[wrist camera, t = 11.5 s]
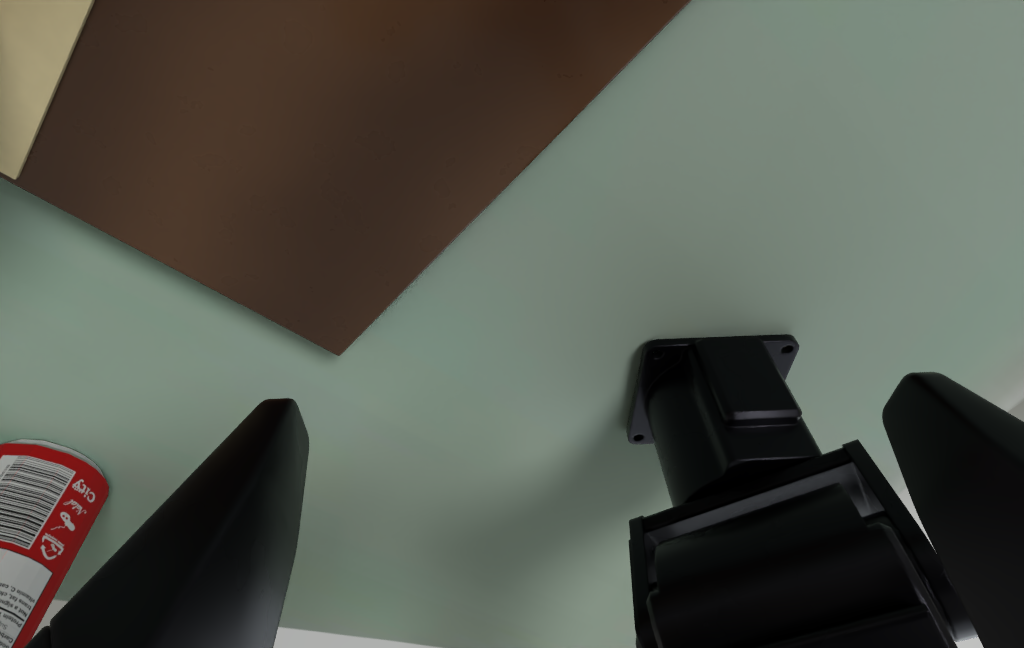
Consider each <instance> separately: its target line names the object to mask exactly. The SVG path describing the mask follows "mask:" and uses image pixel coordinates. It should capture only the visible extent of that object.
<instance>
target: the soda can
mask: <svg viewBox="0 0 1024 648" xmlns="http://www.w3.org/2000/svg"><path fill="white" fill-rule="evenodd" d="M108 492H109V486H108V484H107V481H106V479H105V478H104V476H103V474H102V471H101V469H100V468H99V467H98V466H97V465H96V464H95V463H94V462H93V461H91V460H90V459H89V458H87V457H86V456H84V455H83V454H81V453H79V452H77V451H75V450H73V449H70V448H67V447H64V446H60V445H57V444H54V443H51V442H48V441H41V440H28V439H19V440H15V441H11V442H7V443H3V444H0V648H24V647H25V646H26V645H27V644H28V643H29V642H30V641H31V639H32V637H33V635H34V633H35V631H36V630H37V628H38V626H39V624H40V622H41V620H42V618H43V617H44V615H45V613H46V611H47V609H48V607H49V605H50V603H51V602H52V600H53V598H54V596H55V594H56V592H57V590H58V588H59V587H60V585H61V583H62V581H63V579H64V577H65V575H66V574H67V572H68V570H69V568H70V566H71V564H72V562H73V560H74V559H75V557H76V555H77V553H78V551H79V549H80V547H81V546H82V544H83V542H84V540H85V538H86V536H87V534H88V532H89V531H90V529H91V527H92V525H93V523H94V521H95V519H96V517H97V516H98V514H99V512H100V510H101V508H102V506H103V504H104V503H105V501H106V499H107V497H108Z"/></svg>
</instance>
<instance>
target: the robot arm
mask: <svg viewBox="0 0 1024 648" xmlns="http://www.w3.org/2000/svg"><path fill="white" fill-rule="evenodd" d="M657 350H659V351H658V352H654V351H657ZM798 350H799V344H798V343H797V341H796V339H795V338H794V336H792V335H787V334H785V335H759V336H732V337H706V338H680V339H656V340H652V341H649V342H648V343H647V344H646V345H645V346H644V348H643V352H642V357H641V362H640V367H639V372H638V377H637V382H636V387H635V392H634V397H633V402H632V406H631V411H630V416H629V421H628V426H627V431H626V432H627V437H628V441H629V442H630V443H632V444H653V443H654V444H655V447H656V450H657V454H658V457H659V461H660V464H661V467H662V471H663V474H664V478H665V481H666V484H667V488H668V491H669V495H670V498H671V501H672V505H673V507H672V508H670V509H667V510H664V511H661V512H658V513H655V514H653V515H650V516H647V517H643V516H640V517H637V518H634V519H631V520H629V526H630V540H629V551H630V565H631V579H632V592H633V606H634V620H635V630H636V634H637V635H636V647H637V648H957V646H956V644H955V642H954V641H956V642H959V641H963V640H967V639H971V638H975V637H977V635H978V637H979V639H980V641H981V643H982V645H983V647H984V648H1024V422H1023V421H1021V420H1019V419H1018V418H1016V417H1014V416H1012V415H1011V414H1009V413H1007V412H1006V411H1004V410H1002V409H1001V408H999V407H997V406H995V405H994V404H992V403H990V402H989V401H987V400H985V399H984V398H982V397H980V396H978V395H977V394H975V393H973V392H972V391H970V390H968V389H966V388H965V387H963V386H961V385H960V384H958V383H956V382H955V381H953V380H951V379H949V378H948V377H946V376H944V375H942V374H940V373H936V372H919V373H909V374H907V375H906V376H904V377H903V379H902V380H901V381H900V383H899V385H898V386H897V388H896V389H895V391H894V392H893V394H892V396H891V397H890V399H889V400H888V402H887V403H886V405H885V407H884V409H883V413H882V419H883V424H884V427H885V430H886V432H887V435H888V438H889V440H890V443H891V446H892V448H893V451H894V454H895V456H896V459H897V462H898V464H899V467H900V470H901V472H902V475H903V478H904V480H905V483H906V486H907V488H908V491H909V494H910V496H911V499H912V501H913V504H914V506H915V509H916V511H917V513H918V516H919V518H920V520H921V522H922V524H923V527H924V529H925V531H926V533H927V535H928V537H929V539H930V541H931V543H932V545H933V547H934V548H933V547H932V545H931V544H930V542H929V541H928V539H927V537H926V536H925V534H924V533H923V531H922V530H921V529H920V527H919V525H918V524H917V523H916V521H915V520H914V518H913V517H912V515H911V514H910V513H909V511H908V510H907V508H906V507H905V505H904V504H903V503H902V501H901V500H900V498H899V497H898V495H897V494H896V493H895V491H894V490H893V488H892V487H891V486H890V484H889V483H888V481H887V480H886V478H885V477H884V476H883V474H882V473H881V471H880V470H879V469H878V467H877V466H876V464H875V463H874V461H873V460H872V459H871V457H870V456H869V454H868V453H867V452H866V450H865V449H864V447H863V446H862V444H861V443H860V442H859V440H858V439H857V440H854V441H852V442H849V443H846V444H843V445H842V446H843V448H840V449H837V450H834V451H831V452H829V453H826V454H823V455H822V453H821V451H820V449H819V447H818V446H817V444H816V442H815V440H814V438H813V436H812V435H811V433H810V431H809V429H808V427H807V426H806V424H805V422H804V420H803V418H802V417H801V415H802V411H801V409H800V407H799V405H798V404H797V402H796V400H795V398H794V396H793V395H792V393H791V391H790V389H789V387H788V386H787V384H786V382H785V379H786V377H787V374H788V372H789V370H790V368H791V365H792V363H793V361H794V359H795V356H796V354H797V352H798ZM653 352H654V353H653ZM308 453H309V437H308V433H307V430H306V427H305V424H304V422H303V419H302V416H301V413H300V411H299V408H298V405H297V403H296V402H295V401H294V400H293V399H290V398H284V399H267V400H264V401H263V402H261V403H260V404H259V405H258V406H257V407H256V408H255V409H254V410H253V411H252V412H251V413H250V414H249V415H248V416H247V417H246V418H245V419H244V420H243V421H242V422H241V423H240V425H239V426H238V427H237V428H236V429H235V430H234V431H233V432H232V433H231V434H230V435H229V436H228V437H227V438H226V439H225V440H224V441H223V442H222V443H221V444H220V445H219V446H218V447H217V448H216V449H215V450H214V451H213V452H212V453H211V455H210V456H209V457H208V458H207V459H206V460H205V461H204V462H203V463H202V464H201V465H200V466H199V467H198V468H197V469H196V470H195V471H194V472H193V473H192V474H191V475H190V476H189V477H188V478H187V479H186V480H185V481H184V482H183V484H182V485H181V486H180V487H179V488H178V489H177V490H176V491H175V492H174V493H173V494H172V495H171V496H170V497H169V498H168V499H167V500H166V501H165V502H164V503H163V504H162V505H161V506H160V507H159V508H158V509H157V510H156V511H155V513H154V514H153V515H152V516H151V517H150V518H149V519H148V520H147V521H146V522H145V523H144V524H143V525H142V526H141V527H140V528H139V529H138V530H137V531H136V532H135V533H134V534H133V535H132V536H131V537H130V538H129V539H128V540H127V542H126V543H125V544H124V545H123V546H122V547H121V548H120V549H119V550H118V551H117V552H116V553H115V554H114V555H113V556H112V557H111V558H110V559H109V560H108V561H107V562H106V563H105V564H104V565H103V566H102V567H101V568H100V569H99V571H98V572H97V573H96V574H95V575H94V576H93V577H92V578H91V579H90V580H89V581H88V582H87V583H86V584H85V585H84V586H83V587H82V588H81V589H80V590H79V591H78V592H77V593H76V594H75V595H74V596H73V597H72V598H71V600H70V601H69V602H68V603H67V604H66V605H65V606H64V607H63V608H62V609H61V610H60V611H59V612H58V613H57V614H56V615H55V616H54V617H53V618H52V619H51V621H50V626H45V627H44V628H42V629H41V630H40V631H39V632H38V633H37V635H35V636H34V638H33V639H32V640H31V641H30V642H29V643H28V644H27V645H26V646H25V647H24V648H273V646H274V641H275V638H276V633H277V629H278V625H279V621H280V617H281V613H282V609H283V604H284V600H285V596H286V592H287V588H288V584H289V580H290V575H291V571H292V567H293V563H294V558H295V553H296V549H297V542H298V535H299V527H300V519H301V511H302V503H303V494H304V486H305V478H306V470H307V462H308ZM934 549H935V550H934ZM935 551H936V552H935Z"/></svg>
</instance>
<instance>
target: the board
mask: <svg viewBox="0 0 1024 648" xmlns="http://www.w3.org/2000/svg"><path fill="white" fill-rule="evenodd" d="M690 1H691V0H0V177H1V178H3V179H5V180H7V181H9V182H11V183H13V184H14V185H16V186H18V187H20V188H22V189H24V190H26V191H28V192H30V193H31V194H33V195H35V196H37V197H39V198H41V199H43V200H45V201H47V202H48V203H50V204H52V205H54V206H56V207H58V208H60V209H62V210H64V211H66V212H67V213H69V214H71V215H73V216H75V217H77V218H79V219H81V220H83V221H84V222H86V223H88V224H90V225H92V226H94V227H96V228H98V229H100V230H101V231H103V232H105V233H107V234H109V235H111V236H113V237H115V238H117V239H118V240H120V241H122V242H124V243H126V244H128V245H130V246H132V247H134V248H135V249H137V250H139V251H141V252H143V253H145V254H147V255H149V256H151V257H152V258H154V259H156V260H158V261H160V262H162V263H164V264H166V265H168V266H169V267H171V268H173V269H175V270H177V271H179V272H181V273H183V274H185V275H186V276H188V277H190V278H192V279H194V280H196V281H198V282H200V283H202V284H203V285H205V286H207V287H209V288H211V289H213V290H215V291H217V292H219V293H220V294H222V295H224V296H226V297H228V298H230V299H232V300H234V301H236V302H237V303H239V304H241V305H243V306H245V307H247V308H249V309H251V310H253V311H255V312H256V313H258V314H260V315H262V316H264V317H266V318H268V319H270V320H272V321H273V322H275V323H277V324H279V325H281V326H283V327H285V328H287V329H289V330H290V331H292V332H294V333H296V334H298V335H300V336H302V337H304V338H306V339H307V340H309V341H311V342H313V343H315V344H317V345H319V346H321V347H323V348H324V349H326V350H328V351H330V352H332V353H334V354H336V355H338V356H340V355H341V354H342V353H343V352H344V351H345V350H346V349H347V348H348V347H349V346H350V345H351V344H352V343H353V342H354V341H355V340H356V339H357V338H358V337H359V336H360V335H361V334H362V333H363V332H364V331H365V330H366V329H367V328H368V327H369V326H370V325H371V324H372V323H373V322H374V320H375V319H376V318H377V317H378V316H379V315H380V314H381V313H382V312H383V311H384V310H385V309H386V308H387V307H388V306H389V305H390V304H391V303H392V302H393V301H394V300H395V299H396V298H397V297H398V296H399V295H400V294H401V293H402V292H403V291H404V290H405V289H406V288H407V287H408V286H409V285H410V284H411V283H412V282H413V281H414V280H415V279H416V278H417V277H418V276H419V275H420V274H421V273H422V272H423V271H424V270H425V269H426V268H427V267H428V266H429V265H430V264H431V263H432V262H433V261H434V260H435V259H436V258H437V257H438V256H439V255H440V254H441V253H442V252H443V251H444V250H445V249H446V248H447V247H448V246H449V245H450V244H451V243H452V242H453V241H454V240H455V239H456V238H457V237H458V236H459V235H460V234H461V233H462V232H463V231H464V230H465V229H466V227H467V226H468V225H469V224H470V223H471V222H472V221H473V220H474V219H475V218H476V217H477V216H478V215H479V214H480V213H481V212H482V211H483V210H484V209H485V208H486V207H487V206H488V205H489V204H490V203H491V202H492V201H493V200H494V199H495V198H496V197H497V196H498V195H499V194H500V193H501V192H502V191H503V190H504V189H505V188H506V187H507V186H508V185H509V184H510V183H511V182H512V181H513V180H514V179H515V178H516V177H517V176H518V175H519V174H520V173H521V172H522V171H523V170H524V169H525V168H526V167H527V166H528V165H529V164H530V163H531V162H532V161H533V160H534V159H535V158H536V157H537V156H538V155H539V154H540V153H541V152H542V151H543V150H544V149H545V148H546V147H547V146H548V145H549V144H550V143H551V142H552V141H553V140H554V139H555V138H556V137H557V135H558V134H559V133H560V132H561V131H562V130H563V129H564V128H565V127H566V126H567V125H568V124H569V123H570V122H571V121H572V120H573V119H574V118H575V117H576V116H577V115H578V114H579V113H580V112H581V111H582V110H583V109H584V108H585V107H586V106H587V105H588V104H589V103H590V102H591V101H592V100H593V99H594V98H595V97H596V96H597V95H598V94H599V93H600V92H601V91H602V90H603V89H604V88H605V87H606V86H607V85H608V84H609V83H610V82H611V81H612V80H613V79H614V78H615V77H616V76H617V75H618V74H619V73H620V72H621V71H622V70H623V69H624V68H625V67H626V66H627V65H628V64H629V63H630V62H631V61H632V60H633V59H634V58H635V57H636V56H637V55H638V54H639V53H640V52H641V51H642V50H643V49H644V48H645V47H646V46H647V45H648V43H649V42H650V41H651V40H652V39H653V38H654V37H655V36H656V35H657V34H658V33H659V32H660V31H661V30H662V29H663V28H664V27H665V26H666V25H667V24H668V23H669V22H670V21H671V20H672V19H673V18H674V17H675V16H676V15H677V14H678V13H679V12H680V11H681V10H682V9H683V8H684V7H685V6H686V5H687V4H688V3H689V2H690Z"/></svg>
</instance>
